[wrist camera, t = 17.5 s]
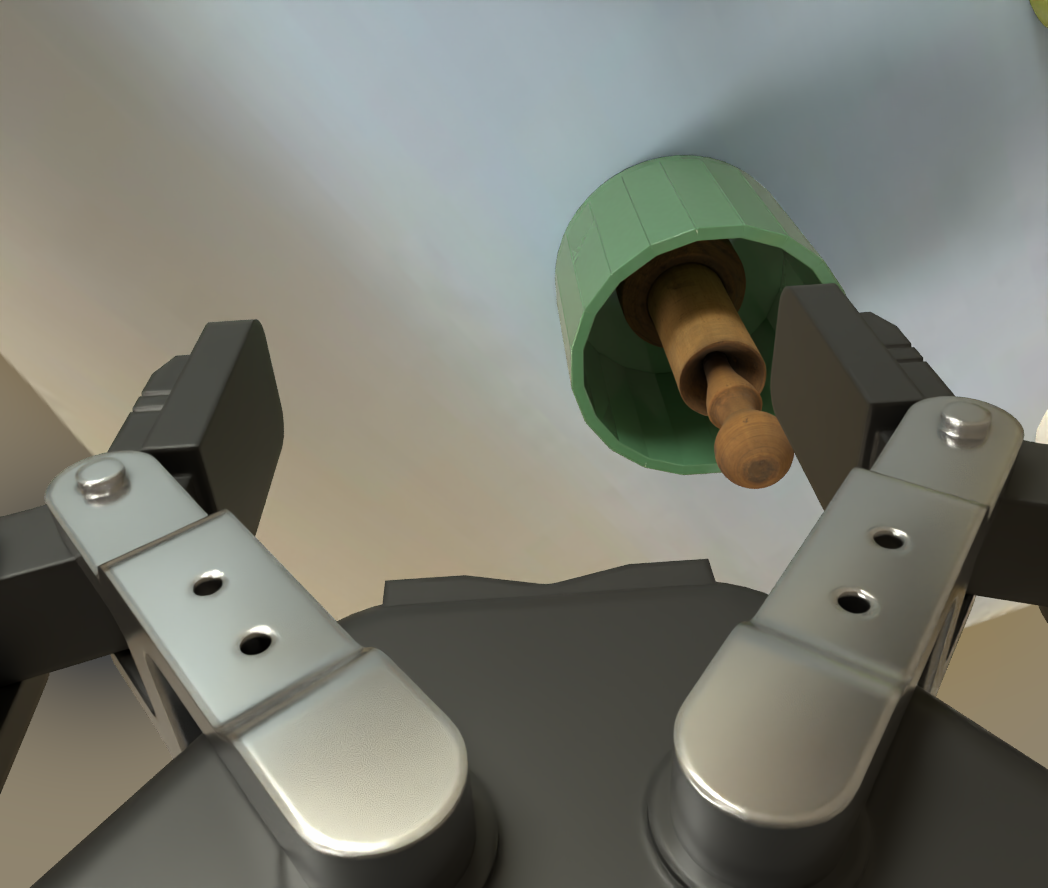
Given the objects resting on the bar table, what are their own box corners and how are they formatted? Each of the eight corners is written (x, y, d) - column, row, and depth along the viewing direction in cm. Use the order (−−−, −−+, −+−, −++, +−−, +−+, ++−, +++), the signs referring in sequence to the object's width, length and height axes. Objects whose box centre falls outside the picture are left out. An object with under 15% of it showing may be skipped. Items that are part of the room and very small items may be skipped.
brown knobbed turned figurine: (693, 348, 52) (781, 558, 38) (593, 303, 51) (644, 506, 36) (760, 247, 49) (885, 433, 34) (656, 196, 47) (740, 369, 33)
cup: (558, 381, 54) (573, 482, 46) (551, 162, 47) (568, 235, 39) (776, 367, 54) (831, 465, 46) (802, 146, 47) (872, 216, 39)
